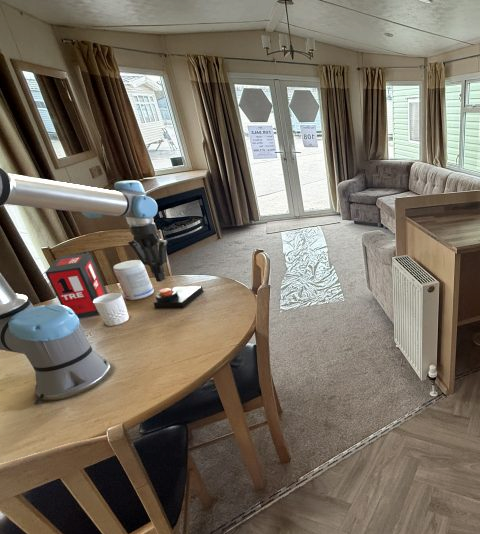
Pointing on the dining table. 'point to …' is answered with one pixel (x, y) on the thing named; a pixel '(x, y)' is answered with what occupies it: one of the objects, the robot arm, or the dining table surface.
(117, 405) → the dining table surface
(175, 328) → the dining table surface
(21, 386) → the dining table surface
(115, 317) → the white cup
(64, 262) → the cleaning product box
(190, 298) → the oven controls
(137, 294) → the supplement tub
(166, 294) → the oven button
